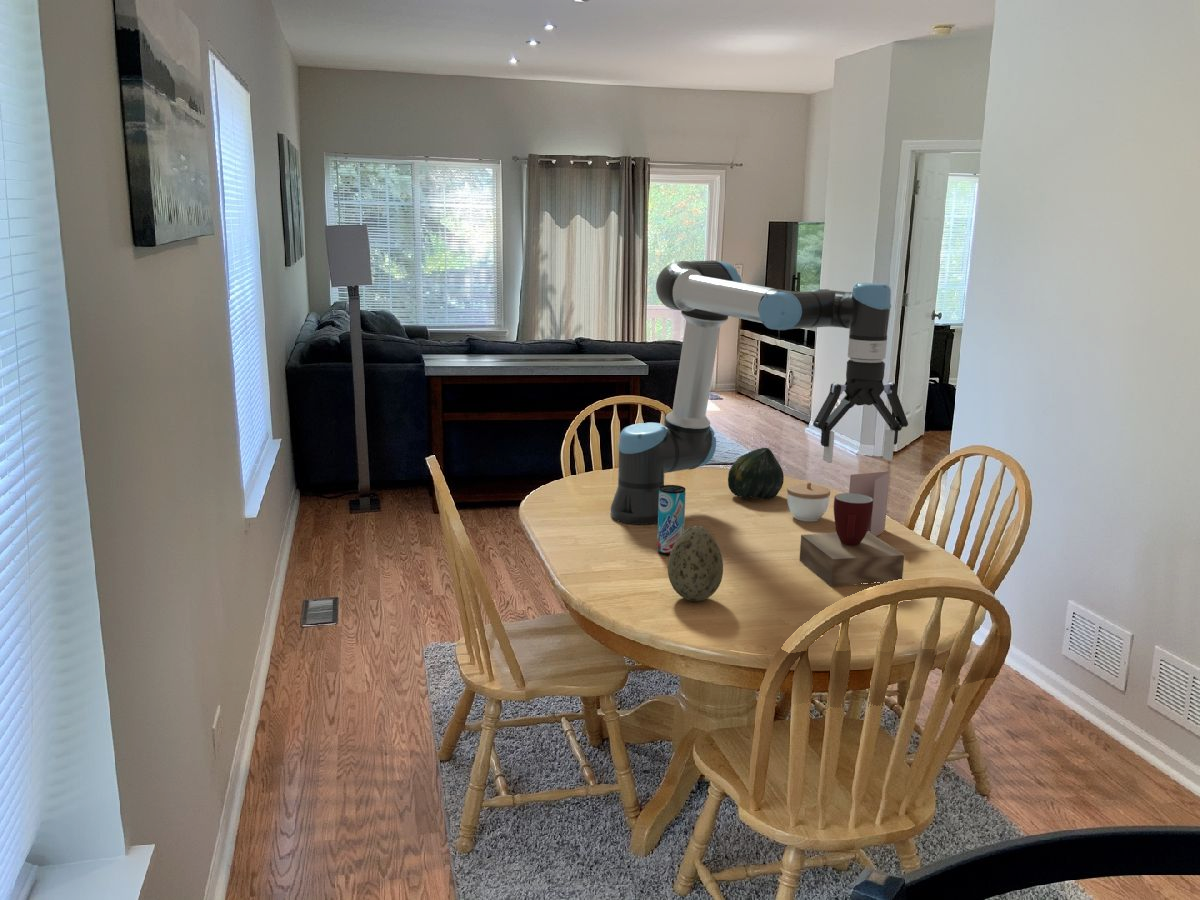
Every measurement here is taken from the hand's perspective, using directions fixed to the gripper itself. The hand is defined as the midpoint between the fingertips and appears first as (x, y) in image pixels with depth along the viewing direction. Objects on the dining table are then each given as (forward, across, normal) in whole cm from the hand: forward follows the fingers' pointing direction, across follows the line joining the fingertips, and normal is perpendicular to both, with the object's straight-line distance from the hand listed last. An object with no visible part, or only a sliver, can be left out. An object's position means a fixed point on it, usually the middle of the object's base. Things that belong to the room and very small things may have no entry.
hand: (857, 460), depth 195 cm
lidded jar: (+25, +7, +38) cm, 46 cm away
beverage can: (+25, -35, +18) cm, 46 cm away
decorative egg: (+25, -38, -10) cm, 46 cm away
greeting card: (+25, +17, +22) cm, 37 cm away
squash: (+25, +1, +59) cm, 64 cm away
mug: (+19, 0, 0) cm, 19 cm away
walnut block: (+24, 0, 0) cm, 25 cm away
